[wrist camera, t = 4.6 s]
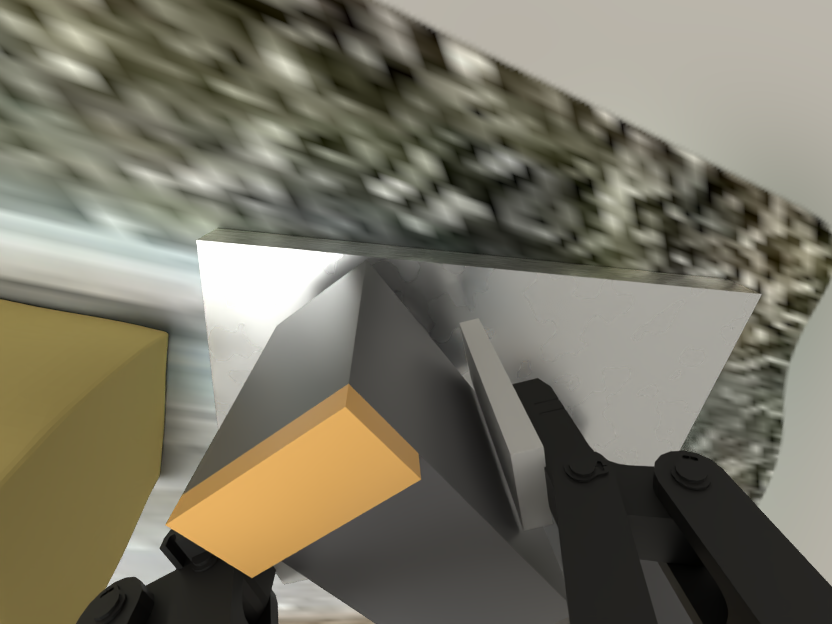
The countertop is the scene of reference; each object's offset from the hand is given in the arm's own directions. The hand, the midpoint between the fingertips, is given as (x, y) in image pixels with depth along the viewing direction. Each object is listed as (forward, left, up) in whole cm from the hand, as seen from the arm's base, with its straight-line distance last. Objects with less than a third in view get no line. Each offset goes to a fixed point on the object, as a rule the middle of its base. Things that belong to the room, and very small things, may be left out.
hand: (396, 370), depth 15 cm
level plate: (-6, -4, -4) cm, 8 cm away
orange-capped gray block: (0, 0, -2) cm, 2 cm away
